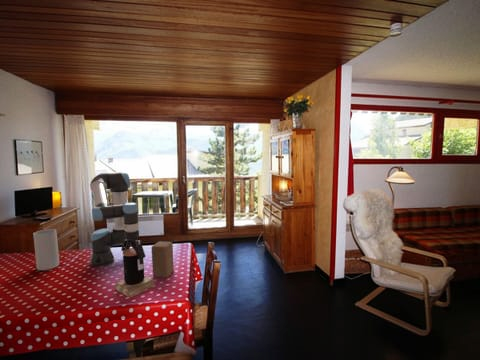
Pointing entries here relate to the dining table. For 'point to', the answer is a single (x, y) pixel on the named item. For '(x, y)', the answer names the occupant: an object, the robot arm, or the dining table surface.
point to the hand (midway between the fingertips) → (133, 266)
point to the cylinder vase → (46, 249)
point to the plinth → (134, 287)
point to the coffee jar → (132, 268)
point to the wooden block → (162, 259)
